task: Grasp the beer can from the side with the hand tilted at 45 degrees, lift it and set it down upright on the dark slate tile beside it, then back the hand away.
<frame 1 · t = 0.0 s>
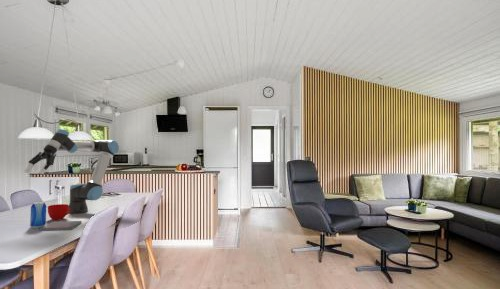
hand: (33, 172, 197), 36 cm above the table, tool tilted 35°, fingers open, 13 cm apart
slate tile: (62, 226, 198), on the table
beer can: (37, 227, 196), on the table
ceramic cup: (60, 219, 217), on the table
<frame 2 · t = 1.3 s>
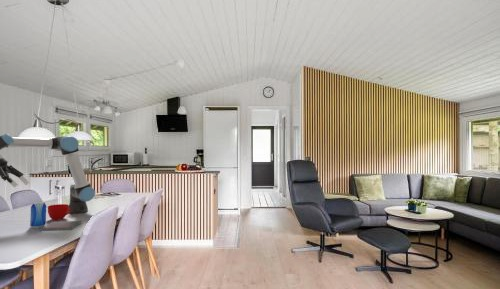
hand: (22, 184, 195), 28 cm above the table, tool tilted 45°, fingers open, 13 cm apart
nothing on the table moved.
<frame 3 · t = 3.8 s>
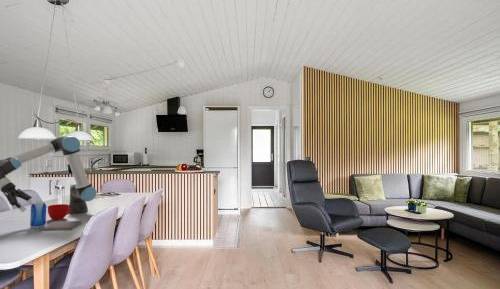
hand: (30, 208, 195), 12 cm above the table, tool tilted 45°, fingers open, 13 cm apart
nothing on the table moved.
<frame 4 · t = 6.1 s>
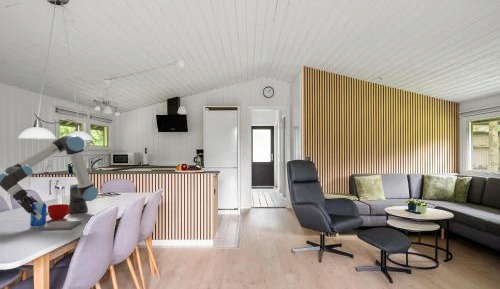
hand: (43, 216, 197), 7 cm above the table, tool tilted 45°, fingers closed on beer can, 8 cm apart
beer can: (37, 227, 196), on the table, touching gripper
everything else where it was.
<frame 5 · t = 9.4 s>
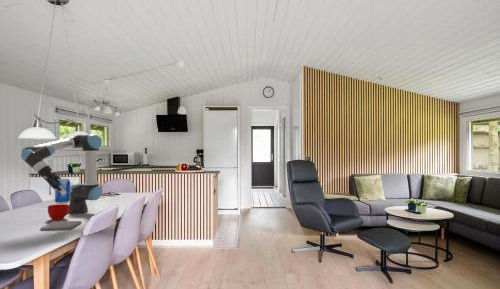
hand: (68, 193, 199), 23 cm above the table, tool tilted 45°, fingers closed on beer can, 8 cm apart
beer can: (62, 203, 198), point 16 cm above the table, touching gripper
everything else where it was.
when the fingers open (10 cm above the table, at t = 13.0 s): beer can drops 1 cm, resting on slate tile.
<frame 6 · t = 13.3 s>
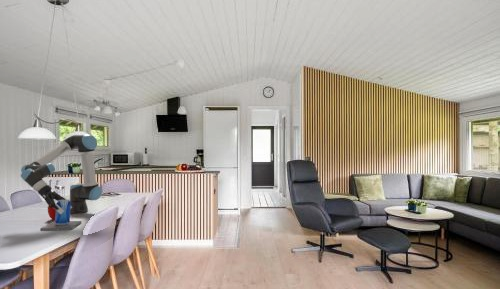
hand: (66, 210, 199), 11 cm above the table, tool tilted 45°, fingers open, 12 cm apart
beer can: (62, 224, 198), point 1 cm above the table, touching slate tile
everything else where it was.
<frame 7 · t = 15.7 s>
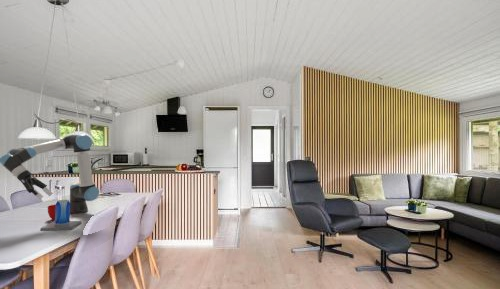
hand: (46, 196, 196), 20 cm above the table, tool tilted 45°, fingers open, 13 cm apart
nothing on the table moved.
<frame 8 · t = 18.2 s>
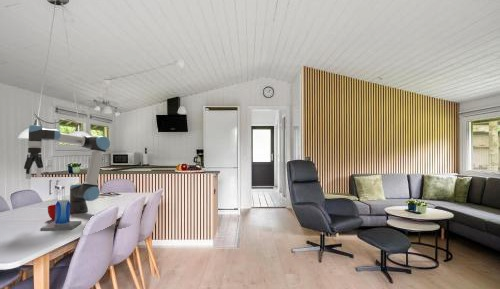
hand: (33, 177, 204), 32 cm above the table, tool pointing down, fingers open, 13 cm apart
nothing on the table moved.
at the end: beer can inside the target area on the slate tile (0.0 cm from its centre), point 1.3 cm above the slate tile's base; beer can tilted 0°; the gripper is holding nothing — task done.
